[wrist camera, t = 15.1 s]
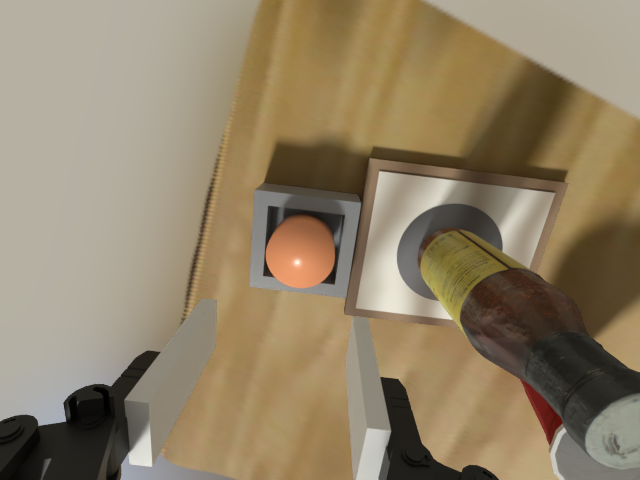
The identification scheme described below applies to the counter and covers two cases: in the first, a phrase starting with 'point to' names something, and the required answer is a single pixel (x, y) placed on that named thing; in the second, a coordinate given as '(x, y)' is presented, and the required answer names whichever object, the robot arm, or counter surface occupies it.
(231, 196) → the counter surface
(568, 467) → the plastic cup
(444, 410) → the counter surface
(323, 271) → the button
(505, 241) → the board
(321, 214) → the button housing
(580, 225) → the counter surface
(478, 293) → the sauce bottle
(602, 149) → the counter surface
